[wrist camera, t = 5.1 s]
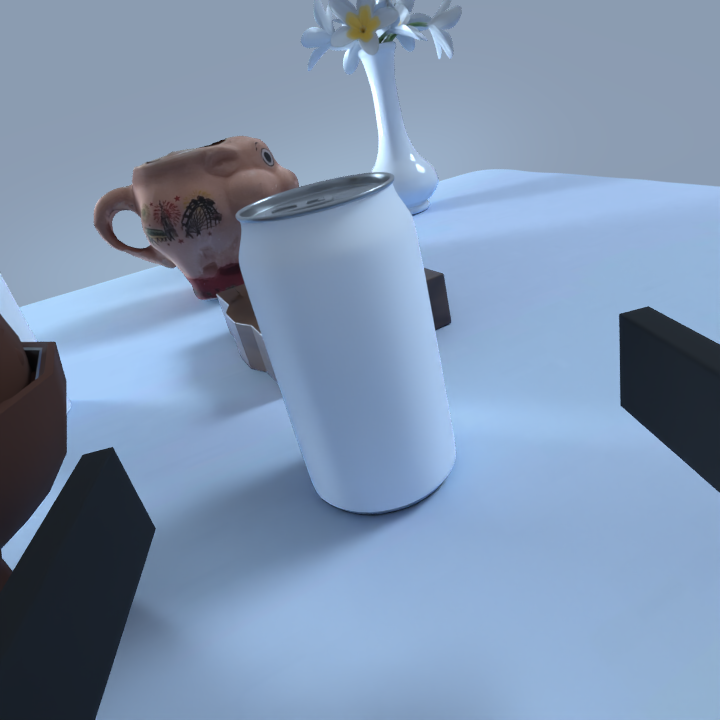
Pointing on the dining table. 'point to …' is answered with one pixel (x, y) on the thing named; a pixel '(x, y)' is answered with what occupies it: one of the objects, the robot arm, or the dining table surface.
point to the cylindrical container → (16, 318)
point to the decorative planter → (196, 208)
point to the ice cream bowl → (28, 429)
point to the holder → (250, 337)
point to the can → (351, 339)
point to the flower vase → (385, 76)
